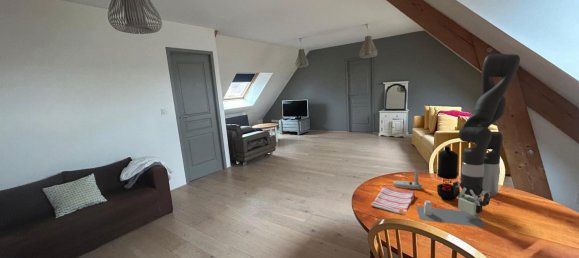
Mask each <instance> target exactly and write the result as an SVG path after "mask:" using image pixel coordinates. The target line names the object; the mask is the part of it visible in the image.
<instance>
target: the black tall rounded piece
mask: <svg viewBox="0 0 579 258" xmlns="http://www.w3.org/2000/svg"><path fill="white" fill-rule="evenodd" d="M437 159H438V160H437V161H438V162H437V170H436V171H437V173H436V174H437V175H436V176H437V177H438V178H441V179H442V183H439V184H437V186H436V187H437V188H436V189H437V190H436V193H437V195H438V196H439V198H441V199H444V200H446V201H452V200H456V199H457V198H458V196H455V195H454V190H453V184H452V183H453V182H452V180H455V179H457V178H458V162H459V161H458V160H459V155H458V153H457V152H456V151H454V150H451V148H450V147H449V146H445V147H444V149H443V150H441V151H440V152H439V153H438V158H437ZM447 181H448V182H447Z"/></svg>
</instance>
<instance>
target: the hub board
mask: <svg viewBox="0 0 579 258" xmlns="http://www.w3.org/2000/svg"><path fill="white" fill-rule="evenodd" d="M415 207H416V212H417V214H418V218H419V220H420V221H425V222H427V221H428V222H437V223H442V224H443V223H445V224H452V225H461V226H468V227H478V228H488V227H487V226H486V224H485V223H484V222H483V220H482V219H481V217H480V216H479V214H475V215H471V214H469V213H466V212H464V211H462V210H459V209H449V208H448V209H447V208H438V207H437V208H436V207H433V205H432V202H431V201H430V200H425V201H424V203H423V206H418V205H416V206H415Z"/></svg>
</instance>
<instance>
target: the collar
mask: <svg viewBox="0 0 579 258" xmlns="http://www.w3.org/2000/svg"><path fill="white" fill-rule="evenodd" d="M458 199H459V200H457V201H458V202H457V203H458V204H457V210H459V211H464V212H466V213H469V214H471V215H475V214H477V213H476V205H477V203H476V201H475V200H474V198H473V197H472V196H470V195H465V196H463V197H461V198H458Z"/></svg>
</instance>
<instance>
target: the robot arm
mask: <svg viewBox="0 0 579 258" xmlns="http://www.w3.org/2000/svg"><path fill="white" fill-rule="evenodd" d="M520 63H521V57H520V55H519V54H514V53H513V54H512V53H508V54H507V53H505V54H501V53H500V54H498V53H495V54H493V53H492V54H488V55H487V56H486V57H485V58H484V61H483V64H482V69H481V71H482V74H481V75H482V76H481V94H480V97H479V98H478V100H476V103H475V104H474V108H473V110H472V112H471V114H470V115H469V117H468V118H467V119H466V121H465V122H464V123H463V124H462V125H461V127H460V128H459V131H458V137H459V140H460V141H462V142H466V143H471V144H474V147H465V148H464V149H463V150H462V151H463V152H462V162H461V169H460V182H459V181H454V182H452V185H453V190H454V195H455V196H457V198H458V200H459V198H461V197H463V196H466V195H469V196H471V197H473V198H474V200H475V201H476V203H477V205H476V213H477V214H478V215H479V214H480V213H482V212H483V207H486V206H489V204H490V200H491V199H492V198H491V197H495V196H497V195H498V192H499V181H500V176H499V174H500V164H501V163H500V161H501V154H502V153H501V150H502V148H503V147H502V146H503V138H504V137H503V134H502V133H501V132H500V131H491V129H490V128H489V127H490V126H492V125H493V124H495V123H496V122H497V121H498V120H499V119H501V118H502V116H504V113H505V109H506V105H507V101H506V97H505V96H504V95H505V94H506V92H507V90H508V88H509V87H510V84H512V81H513V79H514V78H515V76H516V73H517V72H518V70H519V67H520ZM494 78H501V79H500V81H498V83H497V84H496V83H495V79H494ZM487 150H490V151H489V152H487ZM460 189H461V190H460ZM482 196H483V197H482ZM458 200H457V201H458Z"/></svg>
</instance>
